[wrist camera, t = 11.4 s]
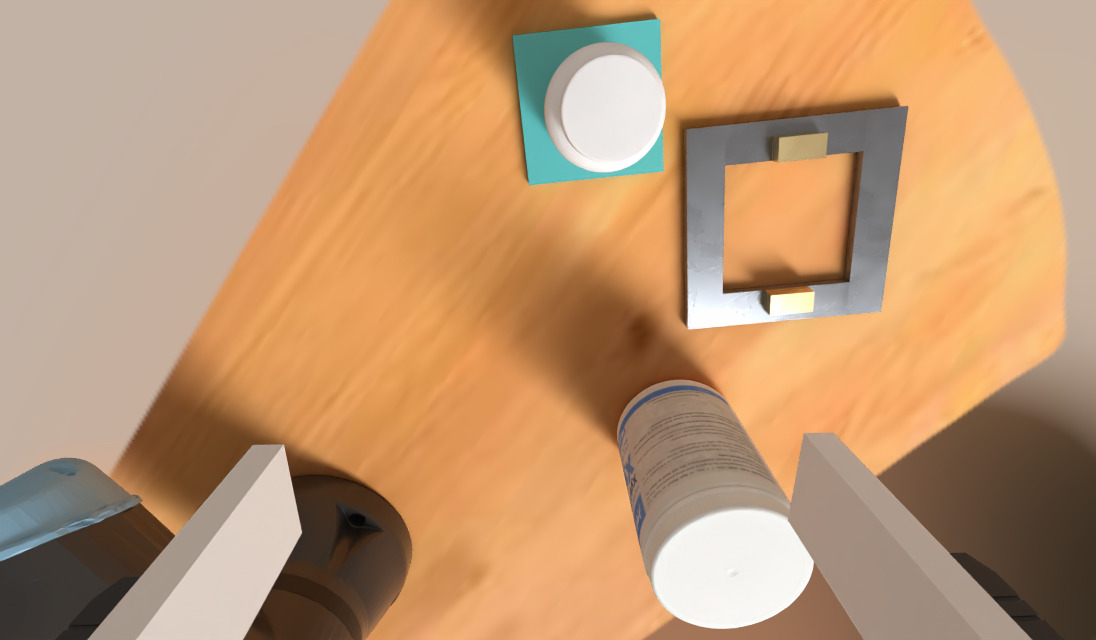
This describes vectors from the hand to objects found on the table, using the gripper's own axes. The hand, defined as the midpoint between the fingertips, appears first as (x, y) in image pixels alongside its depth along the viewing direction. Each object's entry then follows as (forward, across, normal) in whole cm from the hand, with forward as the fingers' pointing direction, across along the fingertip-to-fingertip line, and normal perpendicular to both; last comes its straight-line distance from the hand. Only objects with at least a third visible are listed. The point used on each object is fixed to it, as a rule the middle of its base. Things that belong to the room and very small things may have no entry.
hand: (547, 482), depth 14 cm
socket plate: (+26, -17, -2) cm, 31 cm away
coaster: (+26, -4, -9) cm, 28 cm away
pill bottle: (+26, -4, -9) cm, 28 cm away
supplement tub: (+27, -11, +15) cm, 32 cm away
